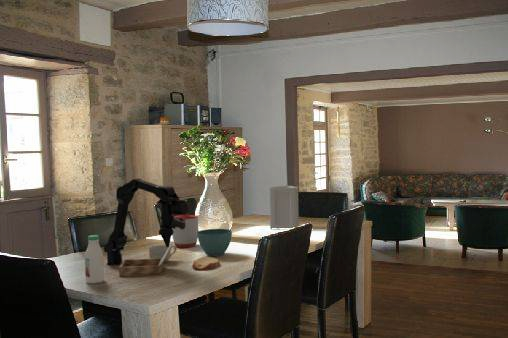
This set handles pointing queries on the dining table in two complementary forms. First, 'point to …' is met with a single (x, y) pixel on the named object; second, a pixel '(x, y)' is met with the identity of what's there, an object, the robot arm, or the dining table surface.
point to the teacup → (160, 252)
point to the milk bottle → (94, 261)
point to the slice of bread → (205, 263)
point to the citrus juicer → (186, 232)
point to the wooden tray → (141, 267)
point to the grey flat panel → (166, 253)
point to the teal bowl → (214, 241)
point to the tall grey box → (284, 207)
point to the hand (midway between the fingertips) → (167, 247)
